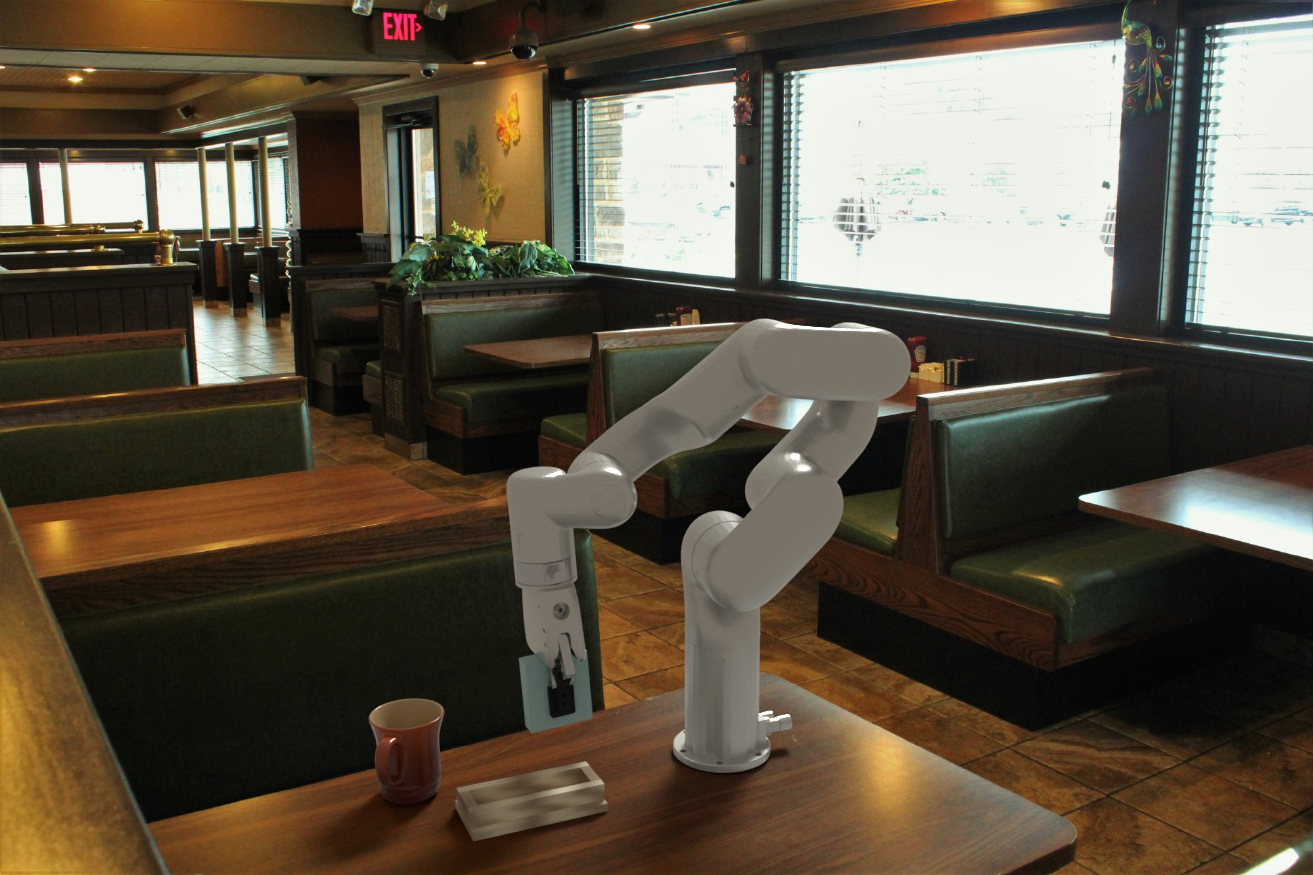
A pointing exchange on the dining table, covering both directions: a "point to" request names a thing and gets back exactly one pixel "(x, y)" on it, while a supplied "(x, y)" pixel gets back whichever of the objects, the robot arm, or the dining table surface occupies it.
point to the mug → (407, 749)
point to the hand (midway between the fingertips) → (558, 708)
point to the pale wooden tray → (530, 800)
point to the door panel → (537, 694)
